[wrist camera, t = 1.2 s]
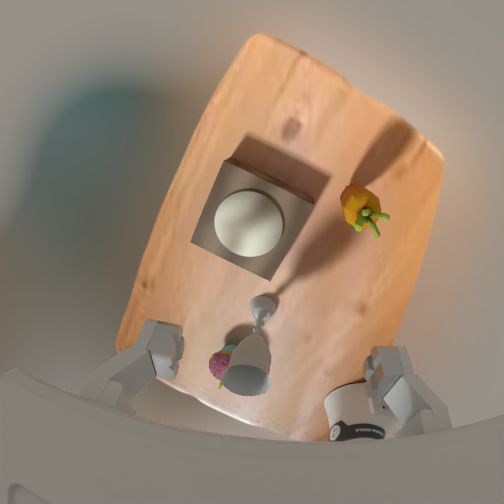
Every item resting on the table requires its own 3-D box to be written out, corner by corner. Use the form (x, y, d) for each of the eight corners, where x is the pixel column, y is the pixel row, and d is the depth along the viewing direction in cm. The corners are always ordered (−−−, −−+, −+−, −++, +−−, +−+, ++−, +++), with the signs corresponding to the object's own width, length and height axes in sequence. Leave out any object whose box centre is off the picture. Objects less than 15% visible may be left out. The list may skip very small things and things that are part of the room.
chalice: (262, 284, 52) (243, 356, 36) (290, 306, 53) (282, 382, 37) (236, 307, 55) (211, 379, 39) (263, 328, 56) (247, 401, 40)
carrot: (368, 178, 41) (397, 205, 28) (362, 208, 43) (386, 248, 30) (336, 172, 42) (353, 197, 28) (331, 203, 44) (344, 242, 30)
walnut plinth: (313, 198, 44) (314, 206, 40) (272, 269, 50) (269, 282, 46) (230, 157, 43) (222, 161, 39) (198, 232, 50) (189, 243, 46)
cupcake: (211, 336, 59) (194, 378, 49) (251, 338, 58) (240, 382, 47) (218, 364, 63) (204, 405, 52) (255, 366, 61) (246, 410, 50)
